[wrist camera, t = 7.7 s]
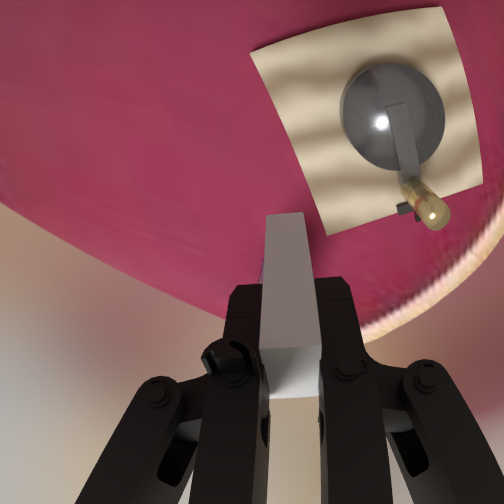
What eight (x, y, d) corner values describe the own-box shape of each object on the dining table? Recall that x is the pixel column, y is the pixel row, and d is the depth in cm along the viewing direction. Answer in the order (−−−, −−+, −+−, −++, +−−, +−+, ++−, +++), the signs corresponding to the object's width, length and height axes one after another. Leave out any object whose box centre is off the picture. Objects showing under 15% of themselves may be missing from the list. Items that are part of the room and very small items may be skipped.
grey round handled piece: (324, 76, 27) (342, 78, 19) (421, 55, 24) (465, 56, 16) (367, 222, 36) (388, 265, 28) (448, 198, 33) (483, 234, 25)
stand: (250, 54, 28) (248, 52, 26) (434, 8, 21) (444, 6, 19) (325, 228, 40) (328, 239, 37) (475, 178, 33) (485, 186, 30)
